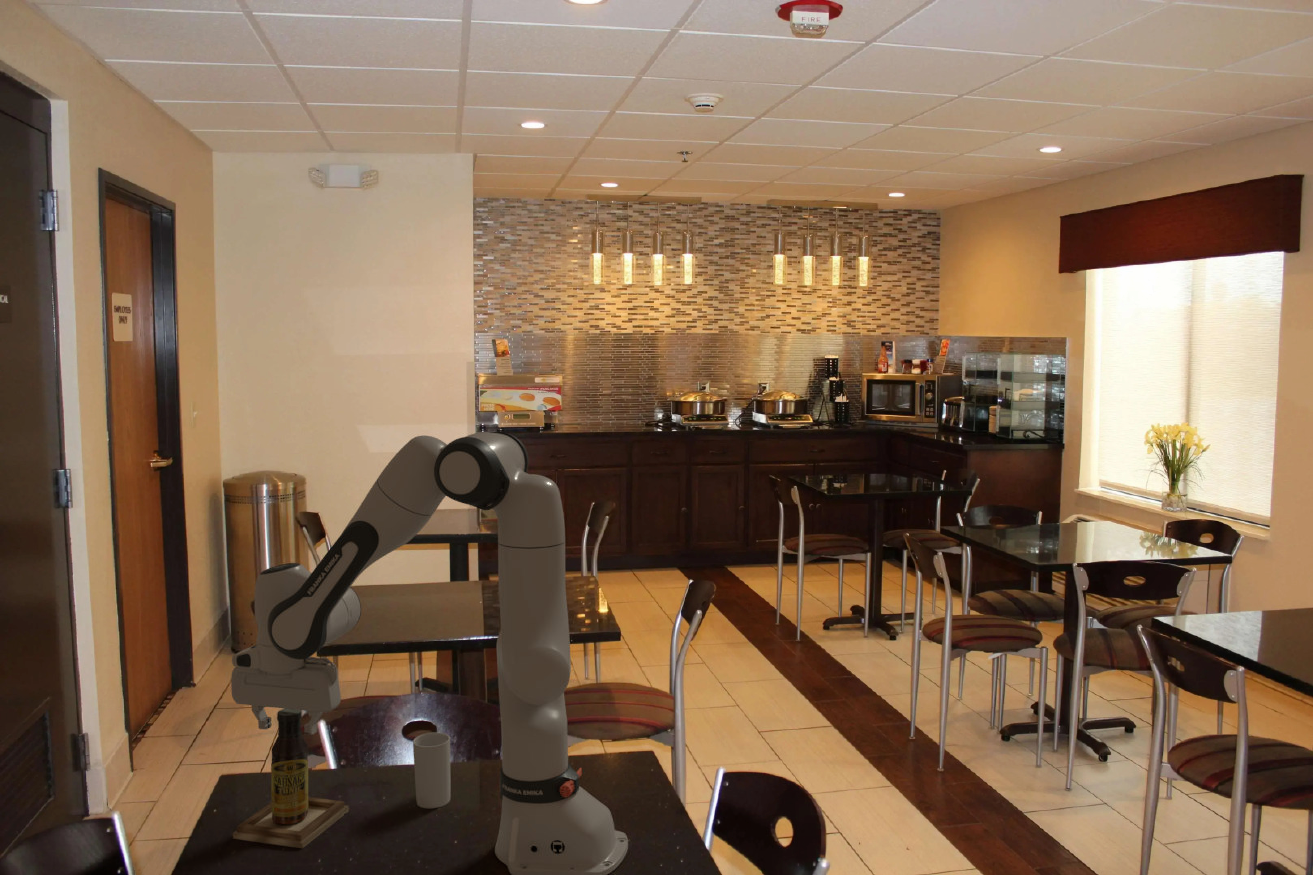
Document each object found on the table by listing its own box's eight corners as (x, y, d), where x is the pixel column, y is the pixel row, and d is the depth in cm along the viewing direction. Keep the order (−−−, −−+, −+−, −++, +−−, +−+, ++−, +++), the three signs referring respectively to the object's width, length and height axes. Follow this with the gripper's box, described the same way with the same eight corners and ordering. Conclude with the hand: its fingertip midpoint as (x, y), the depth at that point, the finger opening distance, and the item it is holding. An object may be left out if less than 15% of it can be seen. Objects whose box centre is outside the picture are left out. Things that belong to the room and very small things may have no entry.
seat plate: (348, 810, 183) (348, 800, 183) (302, 848, 170) (302, 837, 169) (283, 802, 187) (282, 792, 186) (233, 838, 173) (232, 827, 173)
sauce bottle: (271, 829, 174) (266, 720, 172) (272, 814, 180) (266, 707, 178) (311, 822, 176) (306, 714, 175) (310, 807, 182) (305, 702, 180)
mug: (446, 809, 183) (444, 746, 182) (410, 809, 183) (408, 746, 182) (459, 785, 193) (457, 725, 192) (425, 785, 193) (423, 725, 192)
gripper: (346, 653, 175) (349, 729, 177) (247, 645, 181) (251, 719, 182) (325, 664, 169) (328, 742, 171) (223, 656, 175) (227, 732, 176)
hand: (287, 730), depth 176 cm, fingers open, 8 cm apart
